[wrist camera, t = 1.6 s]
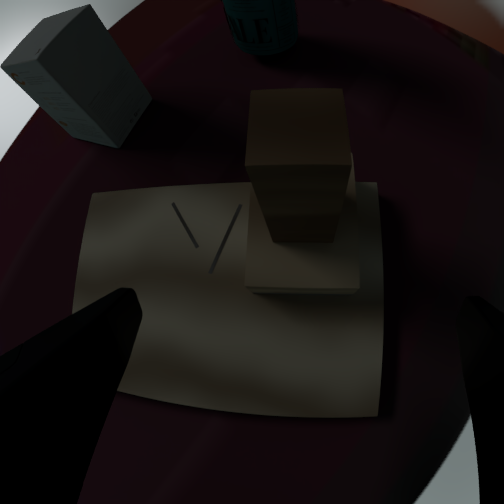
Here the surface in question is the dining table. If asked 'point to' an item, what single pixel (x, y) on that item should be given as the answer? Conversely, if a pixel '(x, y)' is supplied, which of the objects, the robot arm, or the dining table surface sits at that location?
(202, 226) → the board
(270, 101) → the block
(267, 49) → the beverage bottle
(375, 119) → the dining table surface
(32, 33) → the small box
